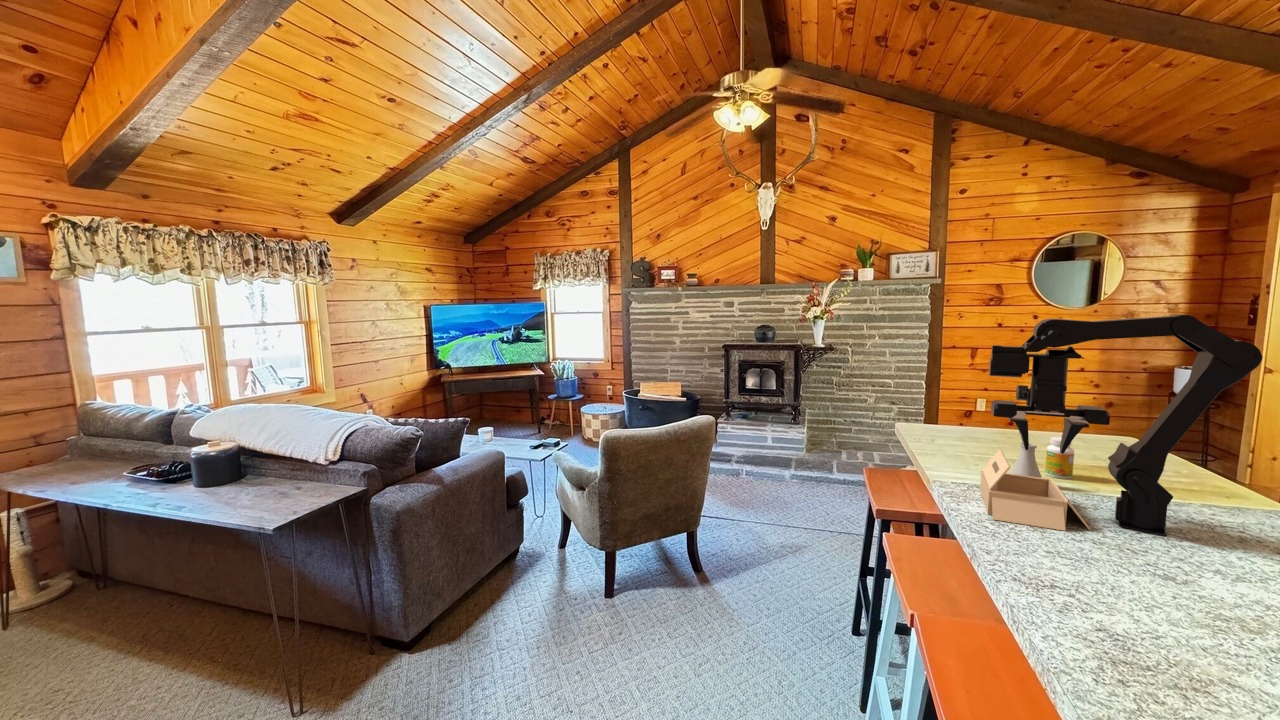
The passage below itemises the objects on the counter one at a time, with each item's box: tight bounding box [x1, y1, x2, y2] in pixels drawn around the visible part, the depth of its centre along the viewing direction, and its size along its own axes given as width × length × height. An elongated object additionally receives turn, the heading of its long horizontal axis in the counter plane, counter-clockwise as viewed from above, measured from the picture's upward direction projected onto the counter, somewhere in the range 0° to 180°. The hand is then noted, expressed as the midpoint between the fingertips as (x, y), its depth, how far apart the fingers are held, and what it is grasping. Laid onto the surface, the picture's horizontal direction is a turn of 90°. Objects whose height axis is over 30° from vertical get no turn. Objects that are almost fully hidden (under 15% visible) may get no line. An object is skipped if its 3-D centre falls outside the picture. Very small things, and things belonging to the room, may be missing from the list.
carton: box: [979, 470, 1091, 532], centre depth 107 cm, size 17×20×5 cm
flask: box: [1008, 442, 1043, 478], centre depth 121 cm, size 7×7×10 cm
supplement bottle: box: [1044, 436, 1075, 480], centre depth 126 cm, size 5×5×10 cm
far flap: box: [981, 448, 1011, 489], centre depth 109 cm, size 1×14×6 cm
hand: (1043, 451), depth 105 cm, fingers open, 6 cm apart
